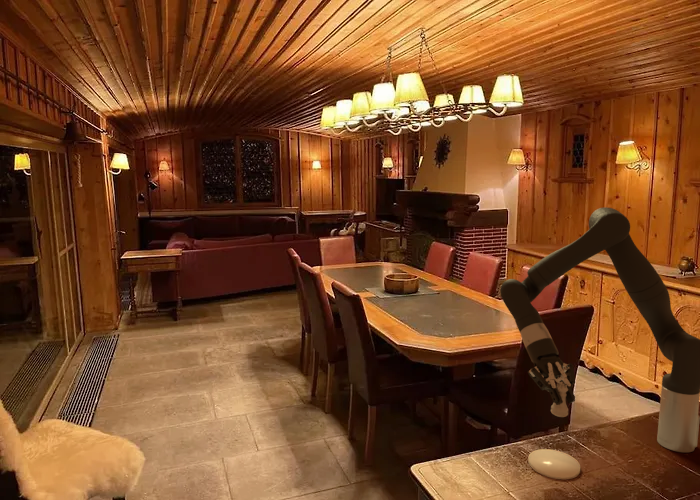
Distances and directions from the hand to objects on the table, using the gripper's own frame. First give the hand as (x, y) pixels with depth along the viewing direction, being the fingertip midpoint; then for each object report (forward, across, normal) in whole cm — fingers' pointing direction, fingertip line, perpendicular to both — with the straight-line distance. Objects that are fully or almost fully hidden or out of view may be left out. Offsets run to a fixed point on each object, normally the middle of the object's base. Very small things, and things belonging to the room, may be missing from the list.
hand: (566, 402), depth 131 cm
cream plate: (+12, 0, +15) cm, 19 cm away
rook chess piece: (+2, 0, +4) cm, 5 cm away
